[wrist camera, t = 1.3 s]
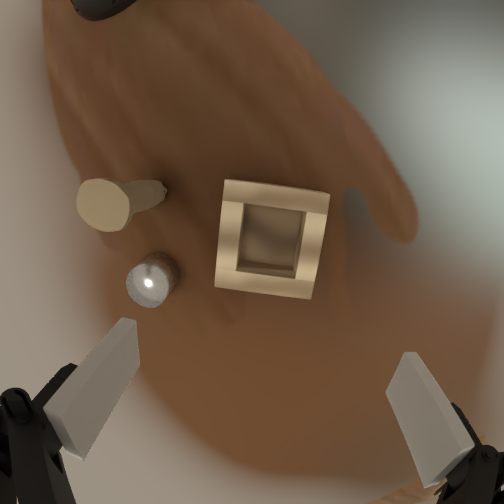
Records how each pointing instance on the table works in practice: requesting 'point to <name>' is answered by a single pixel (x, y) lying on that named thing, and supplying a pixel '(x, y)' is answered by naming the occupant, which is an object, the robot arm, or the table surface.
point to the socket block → (270, 238)
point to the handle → (116, 201)
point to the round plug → (152, 280)
